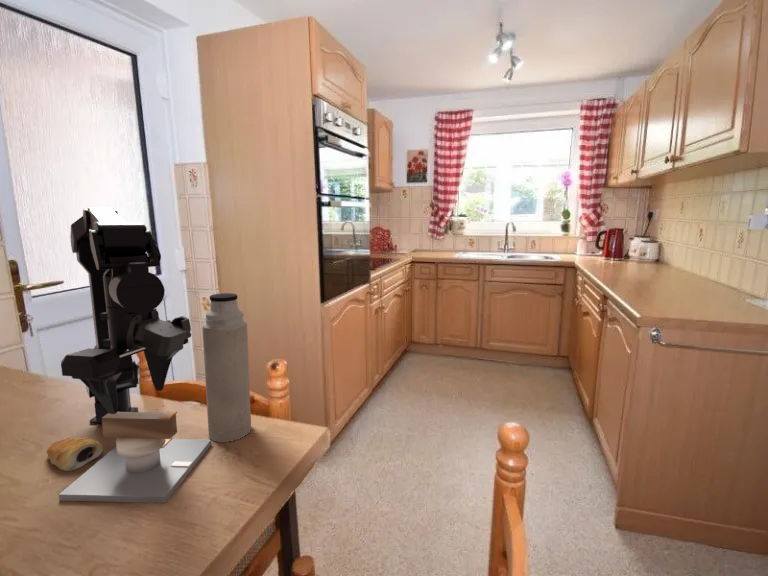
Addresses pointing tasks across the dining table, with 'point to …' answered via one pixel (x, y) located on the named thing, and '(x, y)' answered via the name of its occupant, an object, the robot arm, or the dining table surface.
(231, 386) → the thermos bottle
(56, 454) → the pastry
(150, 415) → the rotary knob
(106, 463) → the plate
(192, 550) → the dining table surface
